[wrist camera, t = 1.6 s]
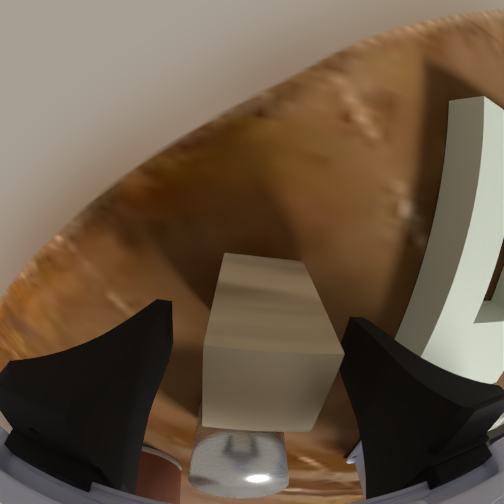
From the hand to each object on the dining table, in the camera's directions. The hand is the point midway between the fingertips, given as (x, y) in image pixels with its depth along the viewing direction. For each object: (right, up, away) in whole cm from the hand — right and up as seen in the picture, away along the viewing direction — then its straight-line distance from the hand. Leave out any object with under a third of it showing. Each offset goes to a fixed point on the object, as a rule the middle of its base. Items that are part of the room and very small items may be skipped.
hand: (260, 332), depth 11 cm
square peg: (0, +1, +3) cm, 4 cm away
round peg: (-1, -8, +7) cm, 11 cm away
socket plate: (+15, +2, +3) cm, 16 cm away
